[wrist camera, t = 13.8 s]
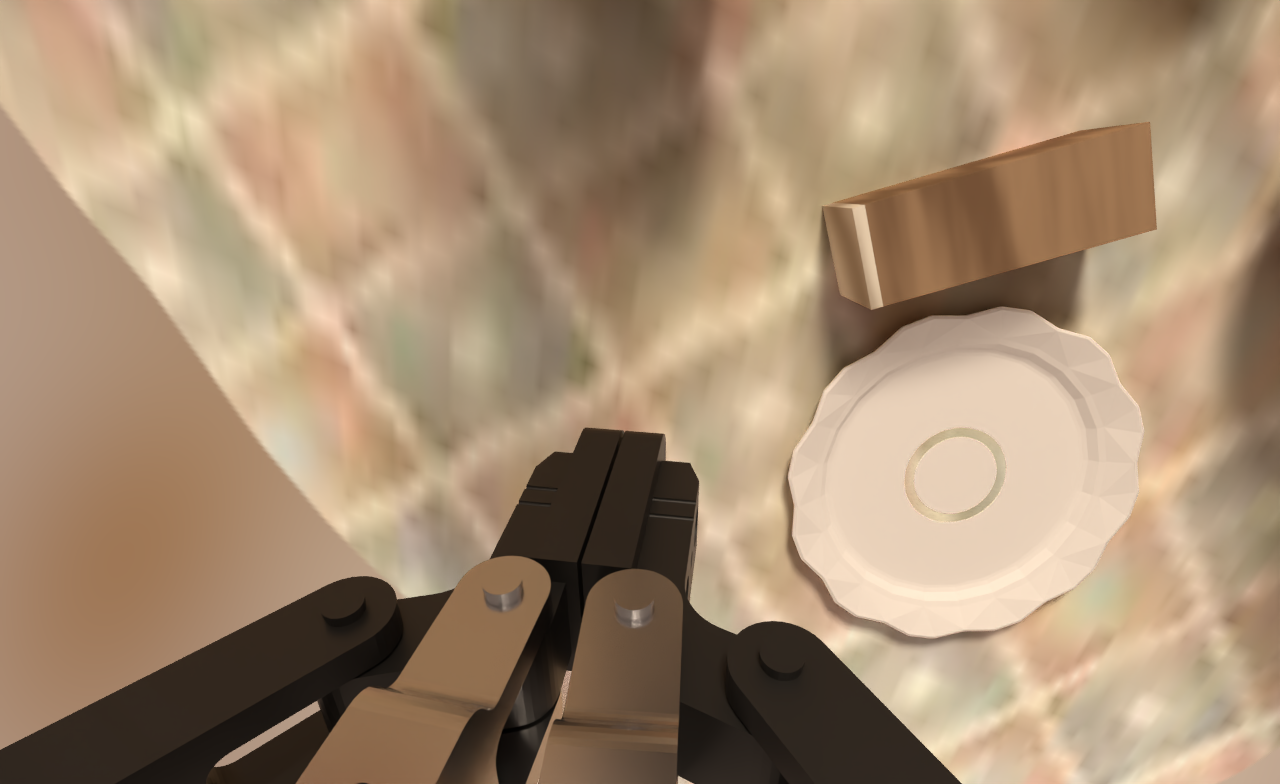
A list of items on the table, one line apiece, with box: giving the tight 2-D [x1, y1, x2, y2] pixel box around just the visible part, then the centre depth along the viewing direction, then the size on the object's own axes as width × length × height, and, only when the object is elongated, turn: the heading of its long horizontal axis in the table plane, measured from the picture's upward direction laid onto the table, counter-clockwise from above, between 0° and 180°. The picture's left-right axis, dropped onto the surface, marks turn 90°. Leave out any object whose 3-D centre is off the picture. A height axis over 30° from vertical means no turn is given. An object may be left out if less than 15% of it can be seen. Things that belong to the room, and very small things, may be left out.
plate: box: [788, 306, 1144, 639], centre depth 41 cm, size 21×21×2 cm
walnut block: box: [822, 122, 1157, 310], centre depth 35 cm, size 5×5×14 cm
